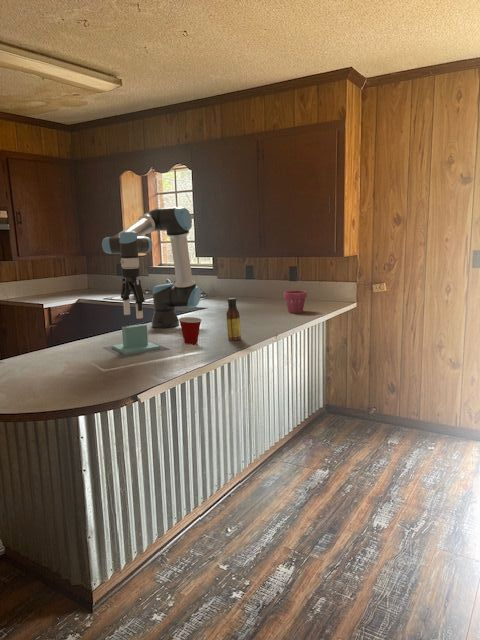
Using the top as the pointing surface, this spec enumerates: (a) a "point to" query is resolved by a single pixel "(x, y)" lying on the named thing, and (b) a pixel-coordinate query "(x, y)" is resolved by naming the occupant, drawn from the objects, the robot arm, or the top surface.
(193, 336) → the plastic cup
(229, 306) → the sauce bottle
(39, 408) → the top surface
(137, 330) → the lid
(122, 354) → the mat
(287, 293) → the plant pot
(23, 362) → the top surface
